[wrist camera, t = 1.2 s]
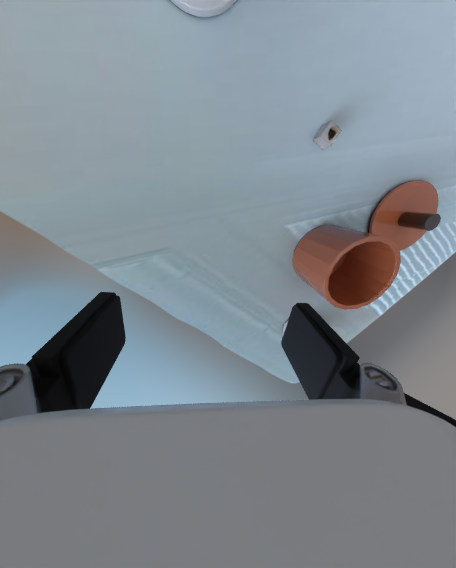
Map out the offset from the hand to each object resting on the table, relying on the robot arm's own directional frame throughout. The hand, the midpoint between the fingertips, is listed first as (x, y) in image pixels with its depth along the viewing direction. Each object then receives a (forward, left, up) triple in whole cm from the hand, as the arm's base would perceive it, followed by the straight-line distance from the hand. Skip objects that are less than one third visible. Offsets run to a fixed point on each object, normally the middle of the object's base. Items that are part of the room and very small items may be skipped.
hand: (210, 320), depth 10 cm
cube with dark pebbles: (-19, +12, -24) cm, 33 cm away
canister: (-3, +22, -24) cm, 33 cm away
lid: (-14, +33, -24) cm, 43 cm away
